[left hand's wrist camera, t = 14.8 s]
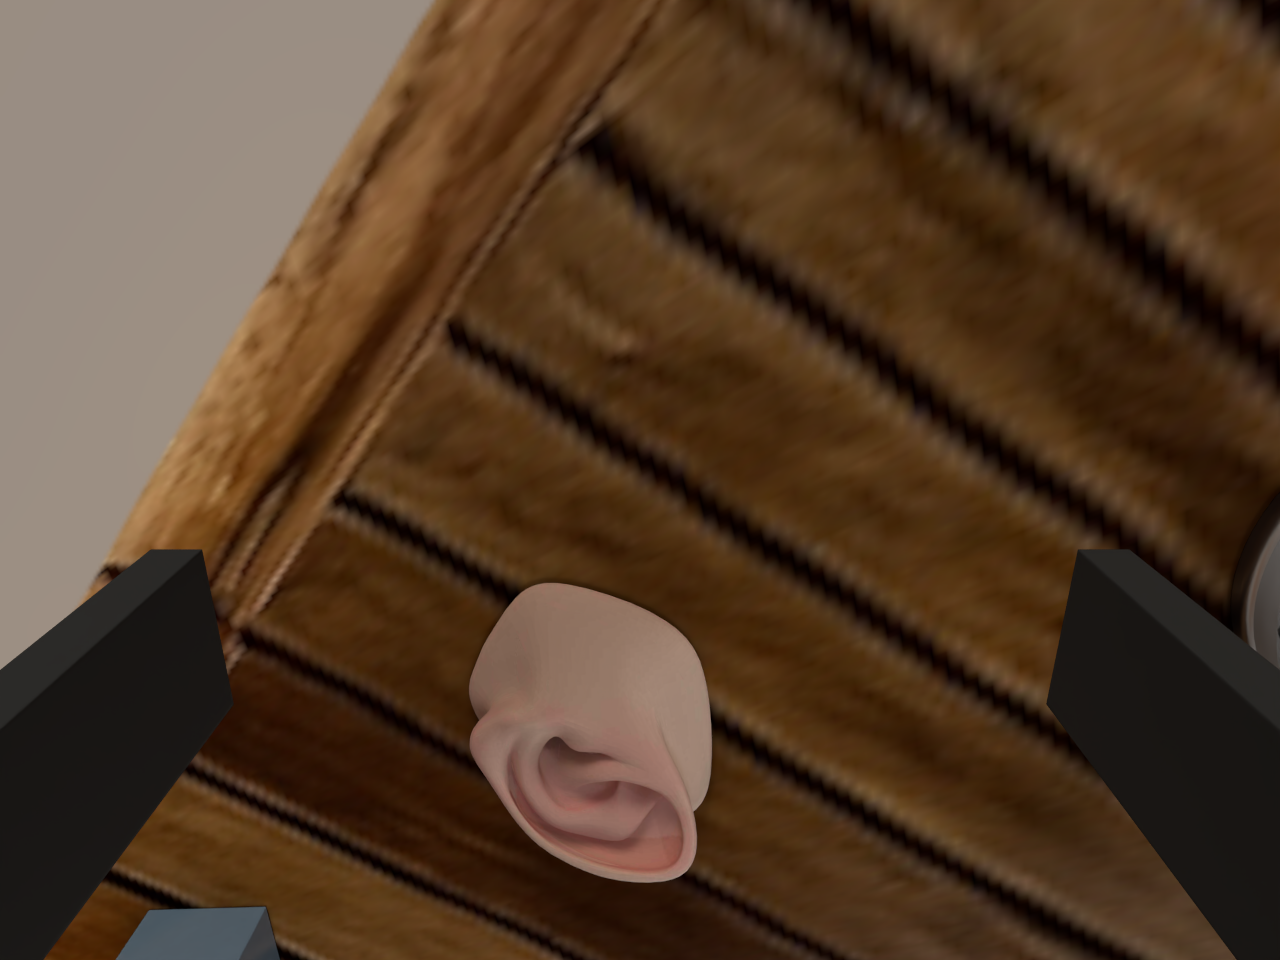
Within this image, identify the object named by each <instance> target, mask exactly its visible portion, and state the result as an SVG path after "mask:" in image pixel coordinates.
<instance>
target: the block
mask: <svg viewBox="0 0 1280 960" xmlns="http://www.w3.org/2000/svg"><path fill="white" fill-rule="evenodd" d="M116 960H280V957H279V953H278V950H277V946H276V942H275V939H274V935H273V931H272V927H271V924H270V920H269V916H268V912H267V909H266V907H235V908H200V909H165V910H149V911H148V912H147V914H146V915H145V917H144V918H143V920H142V921H141V923H140V924H139V926H138V927H137V929H136V930H135V932H134V933H133V935H132V936H131V938H130V939H129V941H128V942H127V943H126V945H125V946H124V948H123V949H122V951H121V952H120V954H119V955H118V957H117V958H116Z"/></svg>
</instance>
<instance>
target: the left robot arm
mask: <svg viewBox="0 0 1280 960" xmlns="http://www.w3.org/2000/svg"><path fill="white" fill-rule="evenodd" d="M1231 621H1232V626H1233V632H1234V633H1233V632H1232V631H1230V630H1229V629H1228V628H1227V627H1225V626H1224V625H1223V624H1222V623H1220V622H1219V621H1218V620H1217V619H1215V618H1214V617H1213V616H1212V615H1210V614H1209V613H1208V612H1207V611H1205V610H1204V609H1203V608H1202V607H1200V606H1199V605H1198V604H1197V603H1195V602H1194V601H1193V600H1192V599H1190V598H1189V597H1188V596H1187V595H1185V594H1184V593H1183V592H1182V591H1180V590H1179V589H1178V588H1177V587H1175V586H1174V585H1173V584H1172V583H1170V582H1169V581H1168V580H1167V579H1165V578H1164V577H1163V576H1162V575H1160V574H1159V573H1158V572H1157V571H1155V570H1154V569H1153V568H1152V567H1150V566H1149V565H1148V564H1147V563H1145V562H1144V561H1143V560H1142V559H1140V558H1139V557H1138V556H1137V555H1135V554H1134V553H1133V552H1132V551H1130V550H1078V552H1077V557H1076V562H1075V567H1074V572H1073V577H1072V581H1071V586H1070V591H1069V596H1068V601H1067V606H1066V611H1065V616H1064V621H1063V625H1062V630H1061V635H1060V640H1059V645H1058V650H1057V655H1056V660H1055V664H1054V669H1053V674H1052V679H1051V684H1050V689H1049V694H1048V699H1047V706H1048V707H1049V708H1050V710H1051V711H1052V712H1053V714H1054V715H1055V716H1056V718H1057V719H1058V720H1059V722H1060V723H1061V724H1062V726H1063V727H1064V728H1065V730H1066V731H1067V732H1068V734H1069V735H1070V736H1071V738H1072V739H1073V740H1074V742H1075V743H1076V745H1077V746H1078V747H1079V749H1080V750H1081V751H1082V753H1083V754H1084V755H1085V757H1086V758H1087V759H1088V761H1089V762H1090V763H1091V765H1092V766H1093V767H1094V769H1095V770H1096V771H1097V773H1098V774H1099V775H1100V777H1101V778H1102V779H1103V781H1104V782H1105V783H1106V785H1107V786H1108V787H1109V789H1110V790H1111V791H1112V793H1113V794H1114V796H1115V797H1116V798H1117V800H1118V801H1119V802H1120V804H1121V805H1122V806H1123V808H1124V809H1125V810H1126V812H1127V813H1128V814H1129V816H1130V817H1131V818H1132V820H1133V821H1134V822H1135V824H1136V825H1137V826H1138V828H1139V829H1140V830H1141V832H1142V833H1143V834H1144V836H1145V837H1146V838H1147V840H1148V841H1149V842H1150V844H1151V845H1152V847H1153V848H1154V849H1155V851H1156V852H1157V853H1158V855H1159V856H1160V857H1161V859H1162V860H1163V861H1164V863H1165V864H1166V865H1167V867H1168V868H1169V869H1170V871H1171V872H1172V873H1173V875H1174V876H1175V877H1176V879H1177V880H1178V881H1179V883H1180V884H1181V885H1182V887H1183V888H1184V889H1185V891H1186V892H1187V893H1188V895H1189V896H1190V898H1191V899H1192V900H1193V902H1194V903H1195V904H1196V906H1197V907H1198V908H1199V910H1200V911H1201V912H1202V914H1203V915H1204V916H1205V918H1206V919H1207V920H1208V922H1209V923H1210V924H1211V926H1212V927H1213V928H1214V930H1215V931H1216V932H1217V934H1218V935H1219V936H1220V938H1221V939H1222V940H1223V942H1224V943H1225V945H1226V946H1227V947H1228V949H1229V950H1230V951H1231V953H1232V954H1233V955H1234V957H1235V958H1236V959H1237V960H1280V492H1279V494H1278V495H1277V496H1276V497H1275V498H1274V500H1273V501H1272V502H1271V504H1270V505H1269V506H1268V507H1267V509H1266V510H1265V511H1264V513H1263V514H1262V516H1261V518H1260V519H1259V521H1258V522H1257V524H1256V526H1255V527H1254V529H1253V531H1252V533H1251V535H1250V537H1249V539H1248V540H1247V542H1246V544H1245V547H1244V549H1243V552H1242V554H1241V557H1240V559H1239V563H1238V566H1237V569H1236V573H1235V577H1234V582H1233V588H1232V596H1231ZM232 706H233V699H232V694H231V689H230V684H229V679H228V674H227V669H226V664H225V660H224V655H223V650H222V645H221V640H220V635H219V630H218V625H217V621H216V616H215V611H214V606H213V601H212V596H211V591H210V586H209V581H208V577H207V572H206V567H205V562H204V557H203V552H202V550H150V551H148V552H147V553H146V554H145V555H143V556H142V557H141V558H140V559H138V560H137V561H136V562H135V563H133V564H132V565H131V566H130V567H128V568H127V569H126V570H125V571H123V572H122V573H121V574H120V575H118V576H117V577H116V578H115V579H113V580H112V581H111V582H110V583H108V584H107V585H106V586H105V587H103V588H102V589H101V590H100V591H98V592H97V593H96V594H95V595H93V596H92V597H91V598H90V599H88V600H87V601H86V602H85V603H83V604H82V605H81V606H80V607H78V608H77V609H76V610H75V611H73V612H72V613H71V614H70V615H68V616H67V617H66V618H65V619H63V620H62V621H61V622H60V623H58V624H57V625H56V626H55V627H53V628H52V629H51V630H50V631H48V632H47V633H46V634H45V635H43V636H42V637H41V638H40V639H38V640H37V641H36V642H35V643H33V644H32V645H31V646H30V647H28V648H27V649H26V650H25V651H23V652H22V653H21V654H20V655H18V656H17V657H16V658H15V659H13V660H12V661H11V662H10V663H8V664H7V665H6V666H5V667H3V668H2V669H1V670H0V960H43V959H44V958H45V957H46V955H47V954H48V953H49V951H50V950H51V949H52V947H53V946H54V944H55V943H56V942H57V940H58V939H59V938H60V936H61V935H62V934H63V932H64V931H65V930H66V928H67V927H68V926H69V924H70V923H71V922H72V920H73V919H74V918H75V916H76V915H77V914H78V912H79V911H80V910H81V908H82V907H83V906H84V904H85V903H86V902H87V900H88V899H89V898H90V896H91V895H92V893H93V892H94V891H95V889H96V888H97V887H98V885H99V884H100V883H101V881H102V880H103V879H104V877H105V876H106V875H107V873H108V872H109V871H110V869H111V868H112V867H113V865H114V864H115V863H116V861H117V860H118V859H119V857H120V856H121V855H122V853H123V852H124V851H125V849H126V848H127V847H128V845H129V844H130V842H131V841H132V840H133V838H134V837H135V836H136V834H137V833H138V832H139V830H140V829H141V828H142V826H143V825H144V824H145V822H146V821H147V820H148V818H149V817H150V816H151V814H152V813H153V812H154V810H155V809H156V808H157V806H158V805H159V804H160V802H161V801H162V800H163V798H164V797H165V796H166V794H167V793H168V791H169V790H170V789H171V787H172V786H173V785H174V783H175V782H176V781H177V779H178V778H179V777H180V775H181V774H182V773H183V771H184V770H185V769H186V767H187V766H188V765H189V763H190V762H191V761H192V759H193V758H194V757H195V755H196V754H197V753H198V751H199V750H200V749H201V747H202V746H203V744H204V743H205V742H206V740H207V739H208V738H209V736H210V735H211V734H212V732H213V731H214V730H215V728H216V727H217V726H218V724H219V723H220V722H221V720H222V719H223V718H224V716H225V715H226V714H227V712H228V711H229V710H230V708H231V707H232Z"/></svg>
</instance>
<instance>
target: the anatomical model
mask: <svg viewBox="0 0 1280 960" xmlns="http://www.w3.org/2000/svg"><path fill="white" fill-rule="evenodd" d="M469 695H470V700H471V704H472V706H473V709H474V711H475V713H476V715H477V717H478V719H479V722H478V723H477V724H476V726H475V727H474V729H473V731H472V733H471V737H470V750H471V753H472V756H473V757H474V759H475V761H476V763H477V765H478V766H479V768H480V769H481V771H482V772H483V773H484V775H485V776H486V778H487V779H488V781H489V782H490V784H491V785H492V787H493V789H494V790H495V792H496V793H497V795H498V796H499V798H500V799H501V801H502V802H503V804H504V805H505V807H506V808H507V810H508V811H509V813H510V814H511V815H512V817H513V818H514V820H515V821H516V822H517V823H518V825H519V826H520V827H521V828H522V829H523V830H524V832H525V833H526V834H527V835H528V836H529V837H530V838H531V839H532V840H533V841H535V842H536V843H537V844H538V845H539V846H541V847H542V848H543V849H545V850H546V851H548V852H549V853H550V854H552V855H554V856H556V857H557V858H559V859H561V860H563V861H565V862H567V863H569V864H570V865H573V866H575V867H577V868H580V869H582V870H584V871H587V872H589V873H592V874H595V875H598V876H602V877H606V878H610V879H615V880H620V881H629V882H660V881H666V880H671V879H674V878H677V877H679V876H680V875H682V874H683V873H685V872H686V871H687V870H688V869H689V867H690V866H691V864H692V862H693V860H694V857H695V854H696V848H697V833H696V823H695V818H694V813H693V811H695V810H696V809H697V808H698V807H699V805H700V804H701V803H702V801H703V800H704V797H705V795H706V793H707V789H708V786H709V780H710V774H711V759H712V735H711V718H710V706H709V698H708V691H707V686H706V681H705V677H704V672H703V669H702V666H701V663H700V660H699V658H698V656H697V654H696V652H695V650H694V648H693V647H692V645H691V644H690V643H689V641H688V640H687V639H686V637H684V636H683V635H682V634H681V633H680V632H679V631H678V630H677V629H676V628H675V627H673V626H672V625H671V624H669V623H668V622H666V621H665V620H663V619H661V618H660V617H658V616H656V615H655V614H653V613H651V612H650V611H647V610H645V609H643V608H641V607H639V606H636V605H634V604H632V603H630V602H627V601H624V600H621V599H618V598H616V597H613V596H610V595H607V594H604V593H600V592H597V591H594V590H590V589H587V588H582V587H578V586H573V585H568V584H561V583H543V584H537V585H534V586H532V587H529V588H527V589H526V590H524V591H523V592H522V593H520V594H519V595H518V596H517V597H516V598H515V599H514V600H513V602H512V603H511V604H510V605H509V607H508V608H507V609H506V610H505V612H504V613H503V615H502V616H501V618H500V619H499V621H498V623H497V624H496V626H495V627H494V629H493V630H492V632H491V634H490V635H489V637H488V638H487V640H486V642H485V644H484V646H483V647H482V650H481V652H480V655H479V657H478V660H477V662H476V665H475V667H474V670H473V673H472V676H471V678H470V685H469Z"/></svg>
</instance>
